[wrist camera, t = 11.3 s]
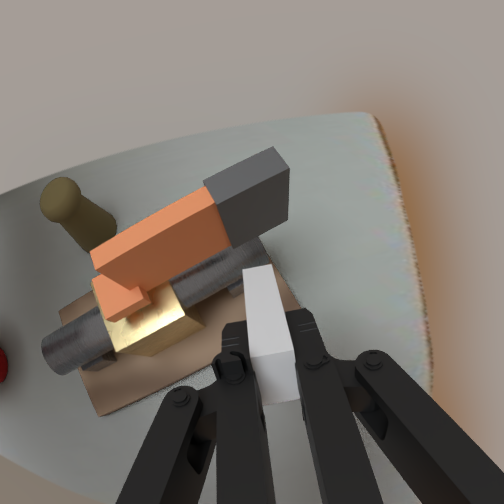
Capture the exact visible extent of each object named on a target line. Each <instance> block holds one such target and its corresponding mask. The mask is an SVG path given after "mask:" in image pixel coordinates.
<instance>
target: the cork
mask: <svg viewBox="0 0 504 504" xmlns="http://www.w3.org/2000/svg"><path fill="white" fill-rule="evenodd" d="M40 208H41V211H42V213H43V215H44V216H45V217H46V218H47V219H49V220H50V221H52V222H56V223H60V224H61V225H62V226H63V227H64V229H65V230H66V231H67V232H68V233H69V234H70V235H71V236H72V237H73V239H74V240H75V241H76V242H77V243H78V244H79V245H80V246H81V247H82V248H83V249H84V250H85V251H86V252H88V253H90V251H91V250H93V249H95V248H96V247H98V246H100V245H101V244H103V243H104V242H106V241H108V240H109V239H111V238H113V237H114V236H115V234H116V228H117V225H116V221H115V219H114V217H113V216H112V215H111V214H109V213H108V212H106V211H105V210H103V209H102V208H100V207H99V206H97V205H96V204H94V203H93V202H91V201H90V200H88V199H87V198H86V197H84V196H83V195H81V191H80V188H79V187H78V185H77V184H76V182H75V181H73V180H71V179H70V178H68V177H59V178H56V179H54V180H52V181H51V182H50V183H49V184H48V185H47V186H46V187H45V189H44V190H43V192H42V194H41V198H40Z"/></svg>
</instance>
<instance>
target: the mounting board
mask: <svg viewBox="0 0 504 504" xmlns="http://www.w3.org/2000/svg"><path fill="white" fill-rule="evenodd" d="M267 255H268V254H267ZM268 258H269V263H268V264H266V265H269V264H272V268H273V271H274V275H275V279H276V283H277V286H278V290H279V294H280V298H281V302H282V306H283V309H284V312H287V311H292V310H297V309H301V307H300V305H299V304H298V302H297V301H296V299H295V297H294V296H293V294H292V293H291V291H290V289H289V288H288V286H287V284H286V283H285V281H284V280H283V278H282V276H281V275H280V273H279V272H278V270H277V268H276V267H275V265H274V264H273V262H272V260H271V259H270V257H269V256H268ZM96 306H98V304H97V301H96V298H95V296H94V293H93V290H92V291H90V292H88V293H87V294H85V295H84V296H82V297H80V298H79V299H77V300H76V301H74V302H72V303H71V304H69V305H67V306H66V307H64V308H63V309H61V310H60V311H59V315H60V318H61V321H62V324H63V326H64V325H66V324H68V323H69V322H71V321H73V320H74V319H76V318H78V317H79V316H81V315H83V314H84V313H86V312H88V311H89V310H91V309H93V308H94V307H96ZM195 307H196V309H197V311H198V313H199V315H200V317H201V318H202V320H203V322H204V324H205V326H206V328H204V329H202V330H201V331H199V332H197V333H195V334H193V335H191V336H189V337H188V338H186V339H184V340H182V341H180V342H178V343H176V344H175V345H173V346H171V347H169V348H167V349H165V350H163V351H161V352H159V353H158V354H156V355H154V356H152V357H146V356H139V355H132V354H125V353H119V352H116V350H115V348H114V349H113V350H112V351H113V353H114V355H115V358H116V360H117V362H115V363H113V364H111V365H109V366H107V367H106V368H104V369H102V370H100V371H98V372H95V371H82V368H81V367H79V368H78V370H79V373H80V375H81V378H82V380H83V383H84V385H85V387H86V390H87V392H88V394H89V397H90V399H91V401H92V404H93V406H94V408H95V410H96V412H97V415H98V417H101V416H105V415H108V414H110V413H112V412H114V411H117V410H119V409H121V408H123V407H125V406H128V405H130V404H132V403H134V402H136V401H138V400H141V399H143V398H145V397H147V396H149V395H151V394H153V393H155V392H157V391H159V390H162V389H164V388H166V387H168V386H170V385H172V384H174V383H176V382H178V381H180V380H182V379H184V378H186V377H188V376H190V375H192V374H194V373H195V372H197V371H199V370H201V369H203V368H205V367H207V366H209V365H211V364H212V361H213V359H214V357H215V356H216V355H217V354H219V353H221V347H222V346H221V341H222V330H223V328H224V327H225V325H226V323H232V322H238V321H243V320H247V317H246V305H245V294H244V293H242V294H240V295H239V296H237V297H235V298H233V297H232V295H231V293H230V292H229V290H228V288H227V287H225V288H224V289H222V290H220V291H218V292H216V293H215V294H213V295H211V296H209V297H208V298H206V299H204V300H202V301H200V302H199V303H197V304H195Z"/></svg>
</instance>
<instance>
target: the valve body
mask: <svg viewBox="0 0 504 504" xmlns="http://www.w3.org/2000/svg"><path fill="white" fill-rule="evenodd" d="M268 263H269V258H268V255H267V253H266V251H265V249H264V247H263V245H262V243H261V241H260V239H259V237H258V236H257V237H255V238H254V239H252V240H250V241H248V242H246V243H244V244H242V245H241V246H239V247H237V248H235V249H233V248H232V246H229V247H227V248H226V249H224V250H222V251H220V252H218V253H216V254H215V255H213V256H211V257H209V258H207V259H205V260H203V261H202V262H200V263H198V264H196V265H194V266H192V267H191V268H189V269H187V270H185V271H183V272H181V273H180V274H178V275H176V276H174V277H172V278H171V279H169V280H167V281H165V282H163V283H161V284H160V285H158V286H156V287H154V288H152V289H151V290H149V291H147V294H148V296H149V299H150V301H151V303H150V304H148V305H146V306H145V307H143V308H141V309H139V310H137V311H135V312H134V313H132V314H130V315H128V316H126V317H125V318H123V319H121V320H119V321H117V322H115V323H114V322H111V321H108V320H105V317H104V314H103V312H102V309H101V306H100V303H99V300H98V297H97V294H96V291H95V288H94V285H93V282H91V283H90V284H91V287H92V290H93V293H94V296H95V298H96V301H97V304H98V306H96V307H94V308H93V309H91V310H89V311H88V312H86V313H84V314H83V315H81V316H79V317H78V318H76V319H74V320H73V321H71V322H69V323H68V324H66V325H64V326H63V327H61V328H60V329H58V330H56V331H55V332H53V333H51V334H50V335H48V336H46V337H45V338H44V339H43V340H42V344H41V347H42V353H43V356H44V358H45V360H46V362H47V364H48V365H49V366H50V368H51V369H52V370H53V371H54V372H56V373H57V374H59V375H66V374H68V373H69V372H71V371H73V370H75V369H77V368H79V367H81V368H82V371H95V372H98V371H100V370H102V369H104V368H106V367H107V366H109V365H111V364H113V363H115V362H117V360H116V358H115V355H114V353H113V351H112V350H113V349H114V348H115V350H116V352H119V353H125V354H132V355H139V356H146V357H152V356H154V355H156V354H158V353H159V352H161V351H163V350H165V349H167V348H169V347H171V346H173V345H175V344H176V343H178V342H180V341H182V340H184V339H186V338H188V337H189V336H191V335H193V334H195V333H197V332H199V331H201V330H202V329H204V328H206V326H205V324H204V322H203V320H202V318H201V317H200V315H199V313H198V311H197V309H196V307H195V304H197V303H199V302H200V301H202V300H204V299H206V298H208V297H209V296H211V295H213V294H215V293H216V292H218V291H220V290H222V289H224V288H225V287H227V288H228V290H229V292H230V293H231V295H232V297H233V298H235V297H237V296H239V295H240V294H242V293H244V282H243V270H242V269H248V268H253V267H258V266H264V265H266V264H268Z"/></svg>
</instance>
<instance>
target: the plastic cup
mask: <svg viewBox="0 0 504 504" xmlns="http://www.w3.org/2000/svg"><path fill="white" fill-rule="evenodd" d="M7 371H8V363H7V358H6V355H5V353H4V351H3V350H2V349H1V348H0V383H1V382H3V381H4V379H5V378H6V375H7Z"/></svg>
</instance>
